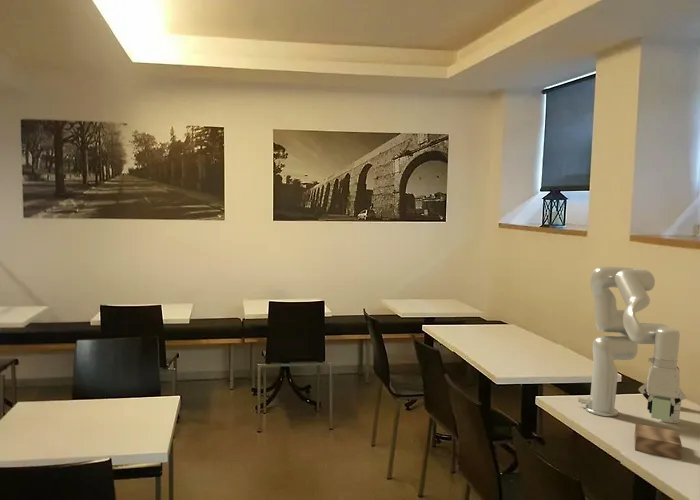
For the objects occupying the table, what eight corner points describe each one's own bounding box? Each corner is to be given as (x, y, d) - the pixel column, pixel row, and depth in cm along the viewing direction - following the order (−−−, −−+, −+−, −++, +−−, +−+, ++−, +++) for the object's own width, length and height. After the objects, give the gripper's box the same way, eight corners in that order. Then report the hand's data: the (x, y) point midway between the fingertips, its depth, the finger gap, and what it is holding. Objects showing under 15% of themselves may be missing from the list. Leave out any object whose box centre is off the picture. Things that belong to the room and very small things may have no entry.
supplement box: (652, 415, 251) (655, 385, 250) (670, 416, 251) (673, 386, 250) (660, 422, 244) (663, 391, 243) (679, 423, 243) (682, 392, 242)
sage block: (651, 417, 214) (653, 398, 213) (650, 413, 219) (652, 394, 218) (668, 420, 212) (670, 401, 211) (667, 416, 217) (669, 396, 216)
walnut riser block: (634, 450, 213) (636, 436, 212) (634, 436, 226) (635, 423, 225) (680, 459, 207) (681, 444, 207) (676, 444, 220) (678, 431, 220)
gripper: (638, 361, 214) (633, 412, 215) (693, 369, 207) (688, 421, 208) (637, 357, 221) (633, 406, 222) (691, 364, 214) (686, 415, 215)
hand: (660, 413), depth 215 cm, fingers closed on sage block, 5 cm apart
